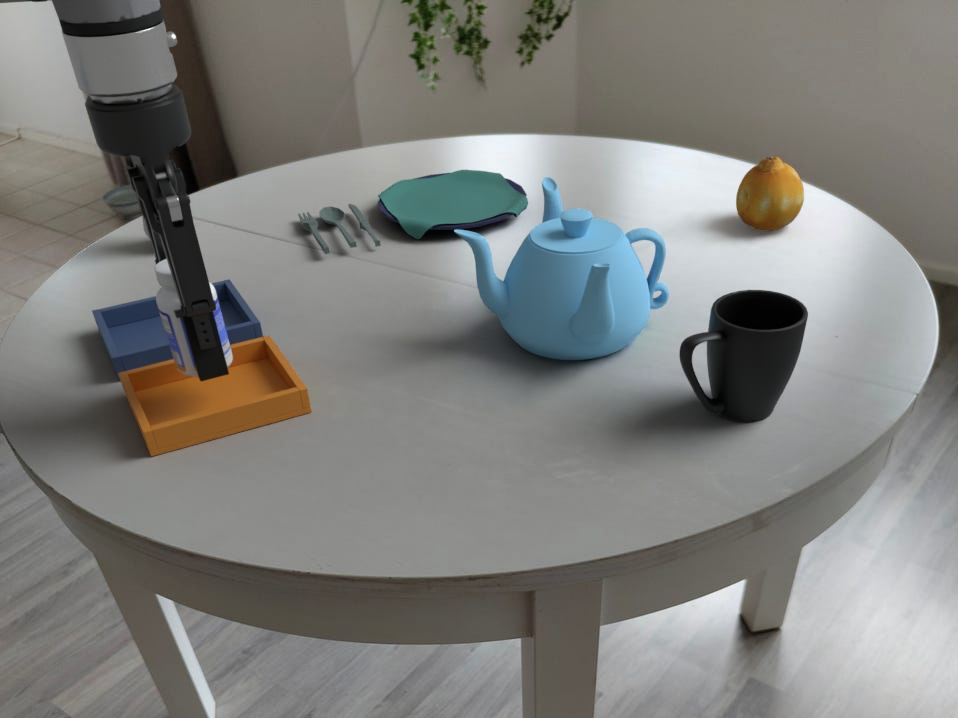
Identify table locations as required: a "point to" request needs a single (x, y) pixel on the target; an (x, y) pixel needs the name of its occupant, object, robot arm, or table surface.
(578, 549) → the table surface
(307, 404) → the tray amber
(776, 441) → the table surface
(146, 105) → the robot arm
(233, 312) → the tray slate
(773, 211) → the fruit
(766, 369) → the mug
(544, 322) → the teapot
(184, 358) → the pill bottle
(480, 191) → the cutlery set
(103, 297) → the table surface
